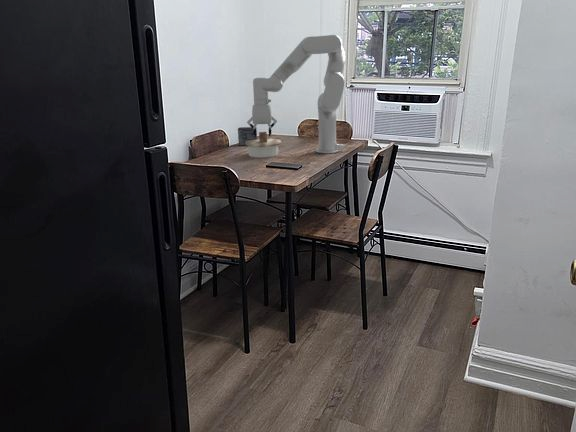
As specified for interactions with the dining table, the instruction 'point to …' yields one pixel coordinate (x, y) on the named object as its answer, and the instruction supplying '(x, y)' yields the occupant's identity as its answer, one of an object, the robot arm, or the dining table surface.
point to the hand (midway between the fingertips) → (262, 135)
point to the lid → (263, 141)
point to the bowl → (263, 151)
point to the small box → (245, 135)
